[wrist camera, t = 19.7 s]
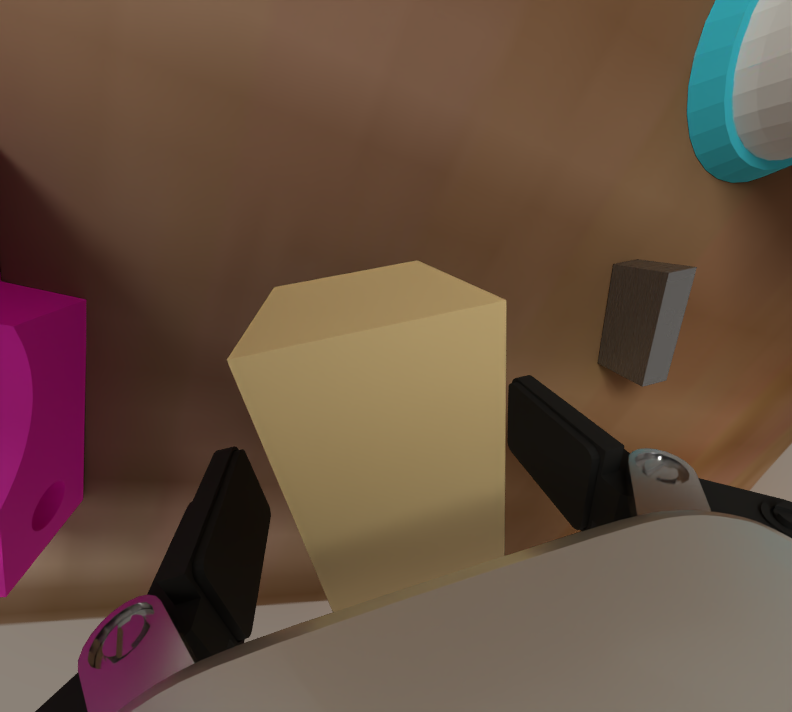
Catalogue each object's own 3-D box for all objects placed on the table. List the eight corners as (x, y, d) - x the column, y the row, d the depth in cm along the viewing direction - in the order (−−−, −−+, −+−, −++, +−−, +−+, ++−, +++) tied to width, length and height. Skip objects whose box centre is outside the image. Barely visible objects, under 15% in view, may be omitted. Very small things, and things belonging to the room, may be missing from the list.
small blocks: (294, 437, 17) (288, 484, 14) (258, 333, 14) (241, 364, 11) (619, 357, 20) (671, 383, 17) (637, 259, 17) (703, 268, 14)
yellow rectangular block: (348, 524, 16) (363, 684, 10) (274, 287, 11) (226, 360, 5) (443, 496, 16) (503, 632, 11) (417, 260, 11) (506, 299, 6)
